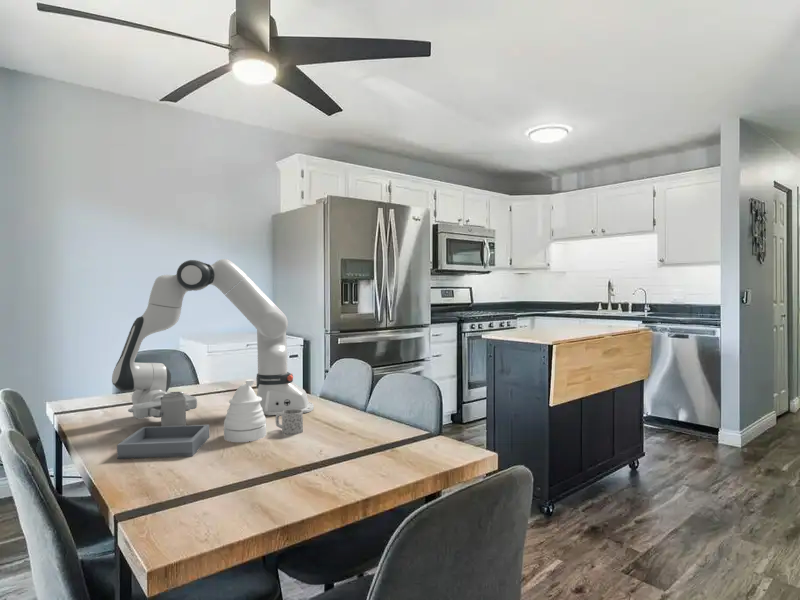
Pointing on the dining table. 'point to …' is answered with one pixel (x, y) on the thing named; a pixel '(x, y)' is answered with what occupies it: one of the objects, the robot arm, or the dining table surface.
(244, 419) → the honey pot
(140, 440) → the tray
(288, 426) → the mug
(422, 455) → the dining table surface
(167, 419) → the can
